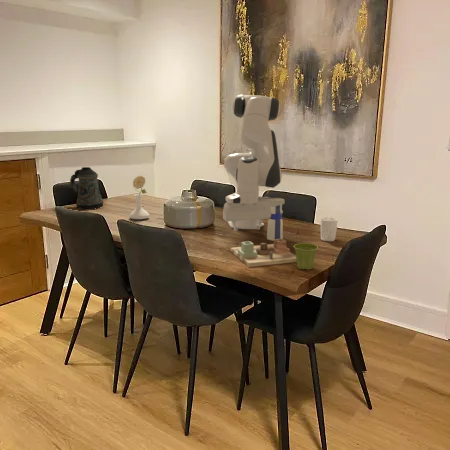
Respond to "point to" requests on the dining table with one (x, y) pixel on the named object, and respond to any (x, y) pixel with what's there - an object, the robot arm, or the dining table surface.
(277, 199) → the water bottle
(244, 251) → the pale green pipe fitting
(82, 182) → the beer stein
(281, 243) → the plate
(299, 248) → the plant pot
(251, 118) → the robot arm
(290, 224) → the dining table surface
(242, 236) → the dining table surface
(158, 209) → the dining table surface
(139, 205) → the flower in vase
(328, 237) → the white cup
